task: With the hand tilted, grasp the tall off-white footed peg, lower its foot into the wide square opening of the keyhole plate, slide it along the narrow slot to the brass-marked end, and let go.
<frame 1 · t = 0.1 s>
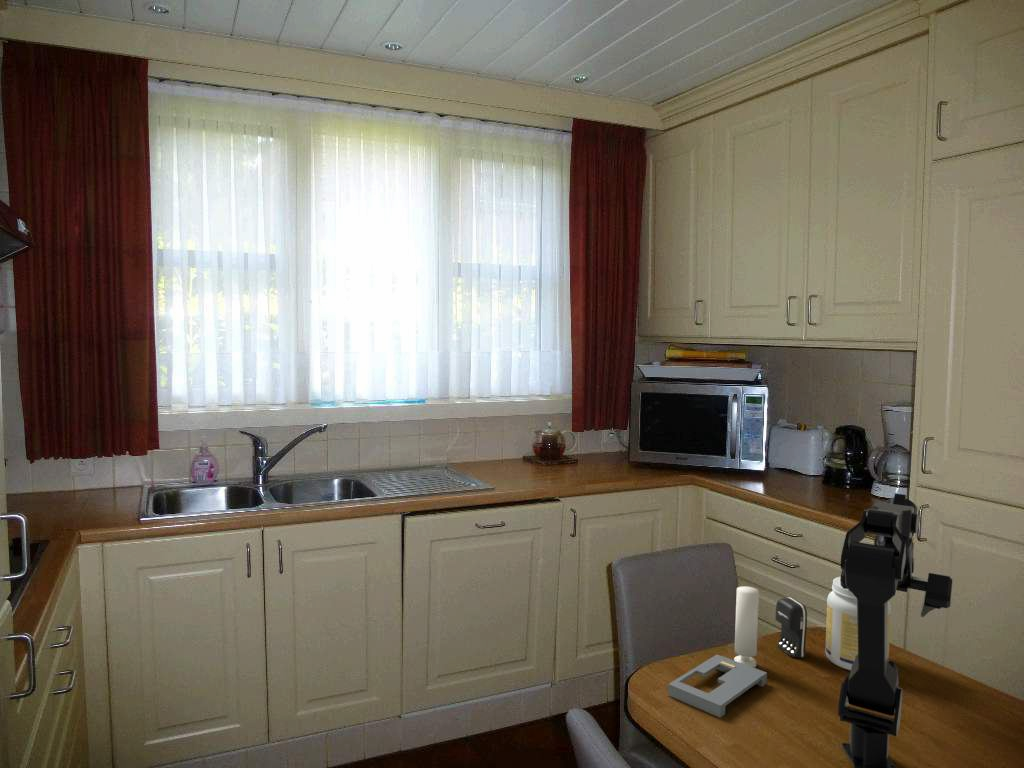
hand: (895, 609, 146), 15 cm above the table, tool tilted 35°, fingers open, 9 cm apart
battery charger: (788, 652, 160), on the table
footed peg: (745, 664, 154), on the table
supplement tub: (855, 662, 156), on the table
keyhole plate: (718, 689, 144), on the table
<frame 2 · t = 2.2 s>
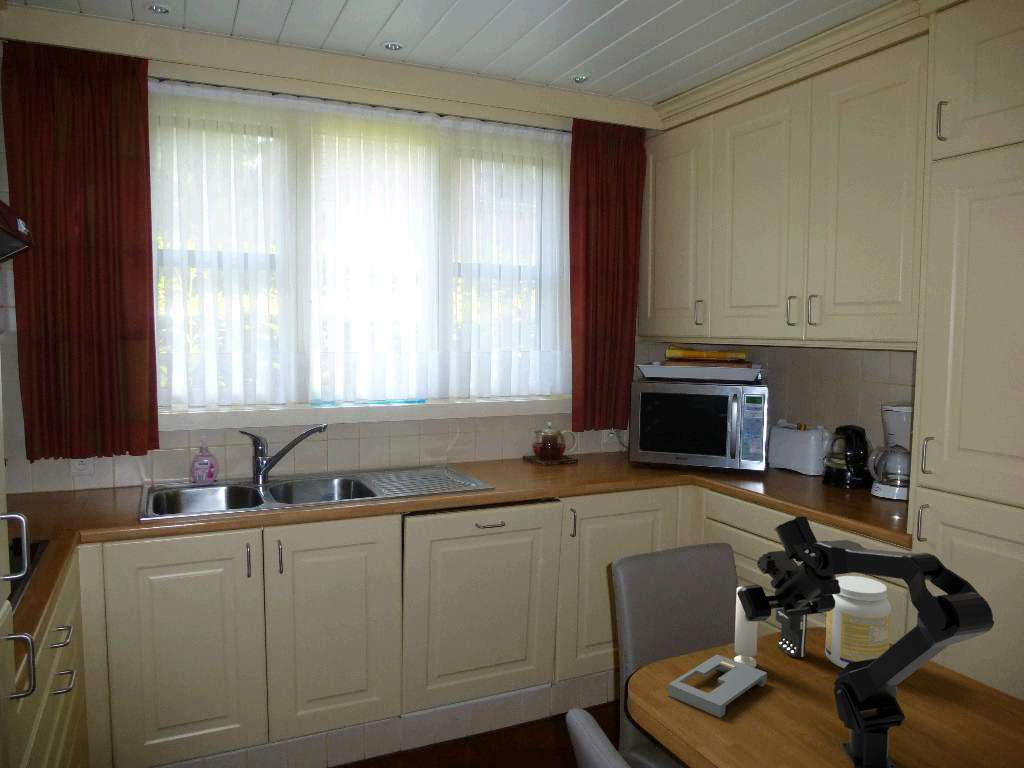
hand: (766, 616, 147), 13 cm above the table, tool tilted 45°, fingers open, 9 cm apart
nothing on the table moved.
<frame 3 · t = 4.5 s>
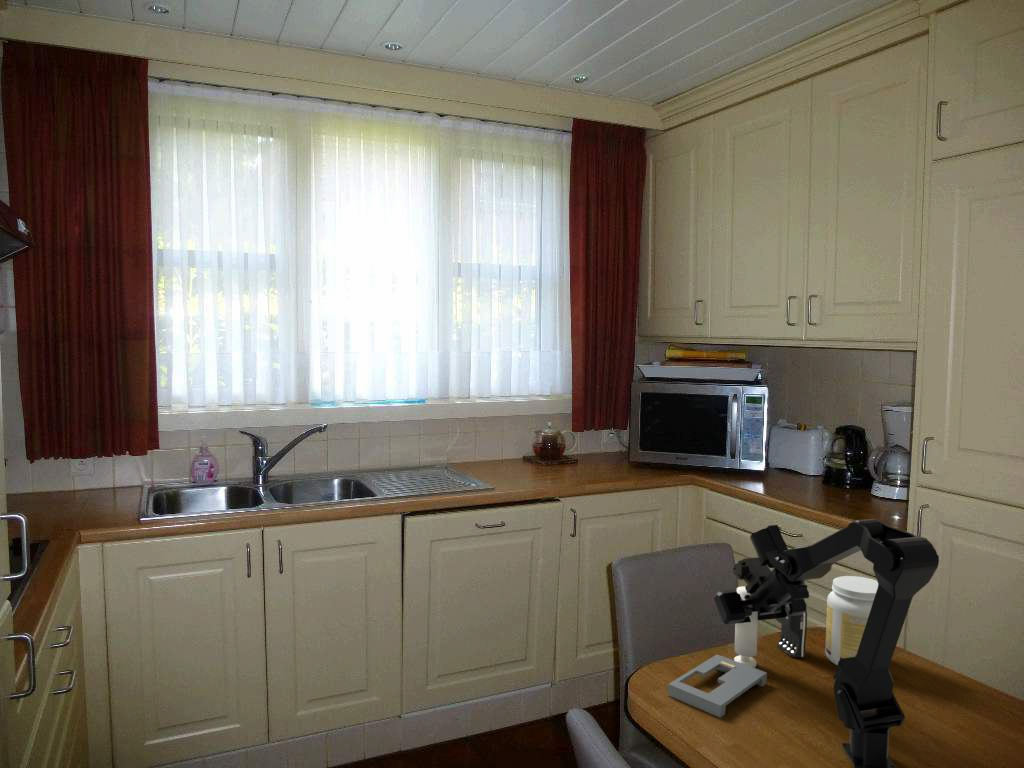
hand: (742, 619, 155), 9 cm above the table, tool tilted 45°, fingers closed on footed peg, 4 cm apart
footed peg: (745, 664, 154), on the table, touching gripper
everything else where it was.
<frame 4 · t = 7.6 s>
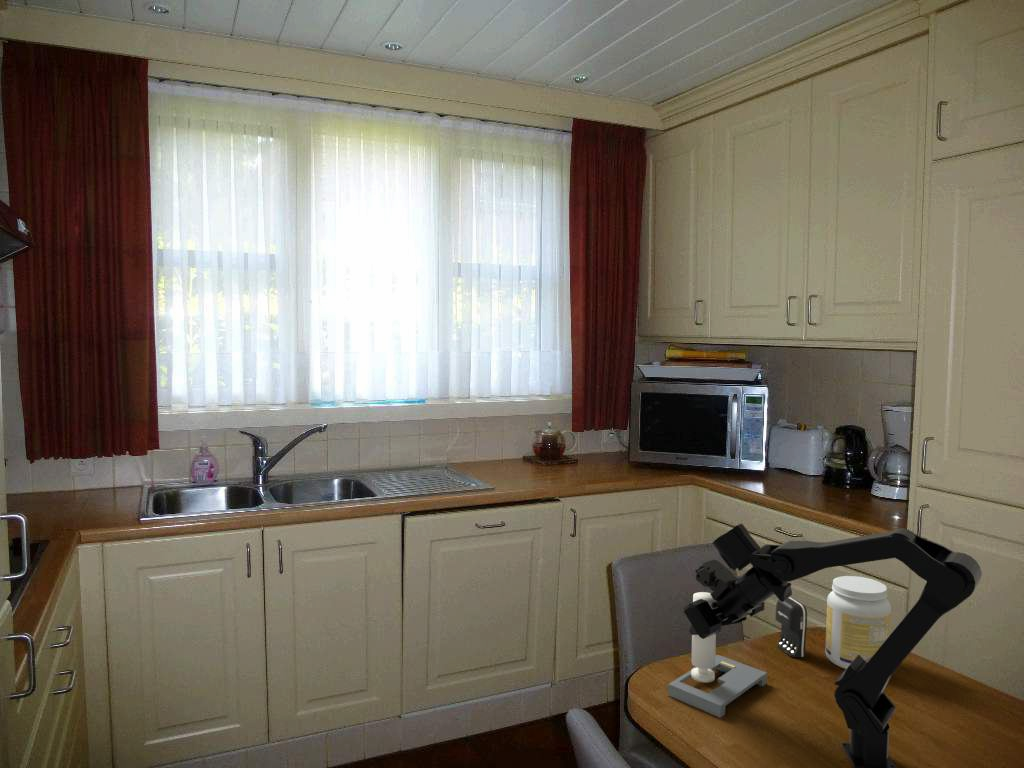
hand: (698, 629, 142), 12 cm above the table, tool tilted 45°, fingers closed on footed peg, 4 cm apart
footed peg: (702, 676, 142), point 3 cm above the table, touching gripper
everything else where it was.
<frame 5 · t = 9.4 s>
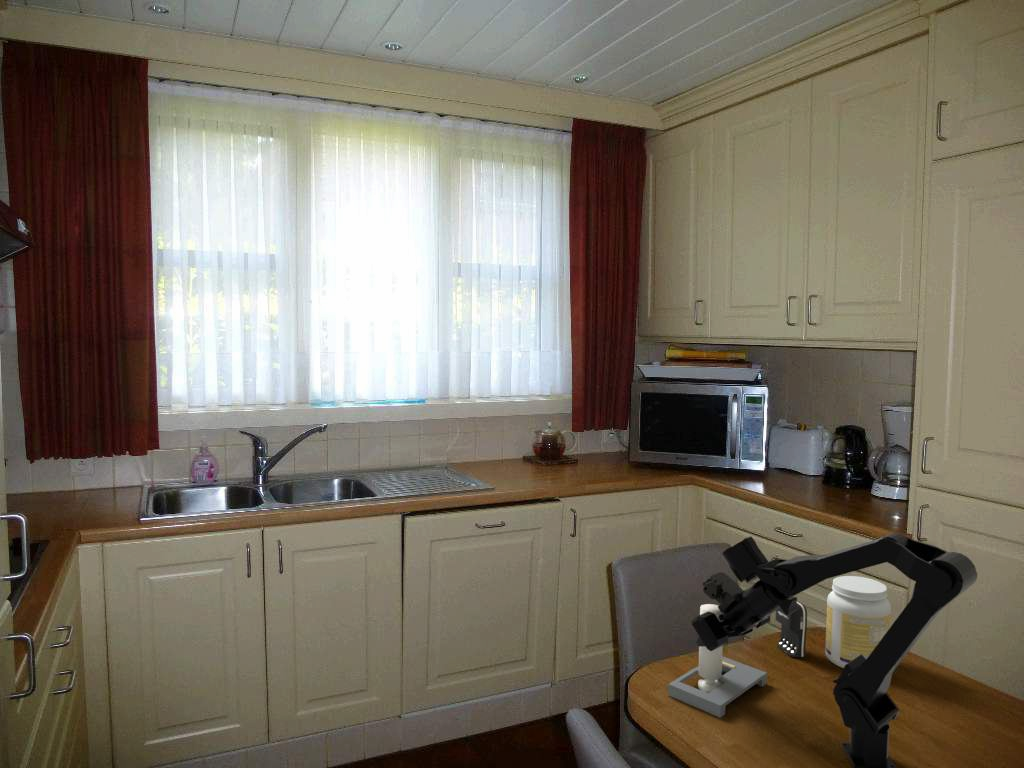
hand: (705, 640, 145), 9 cm above the table, tool tilted 45°, fingers closed on footed peg, 4 cm apart
footed peg: (709, 687, 144), on the table, touching gripper
everything else where it was.
when the fingers open (9 cm above the table, at t = 11.0 s): footed peg stays where it is, on the table.
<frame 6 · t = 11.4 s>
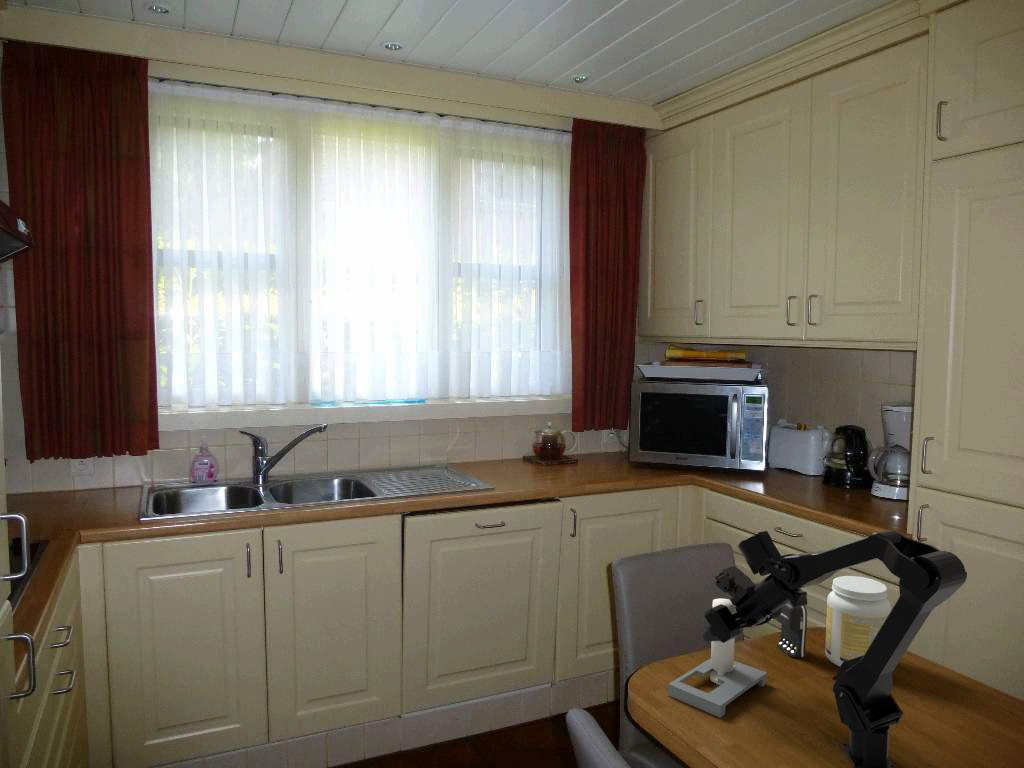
hand: (717, 633, 148), 9 cm above the table, tool tilted 45°, fingers open, 8 cm apart
footed peg: (721, 680, 148), on the table
everything else where it was.
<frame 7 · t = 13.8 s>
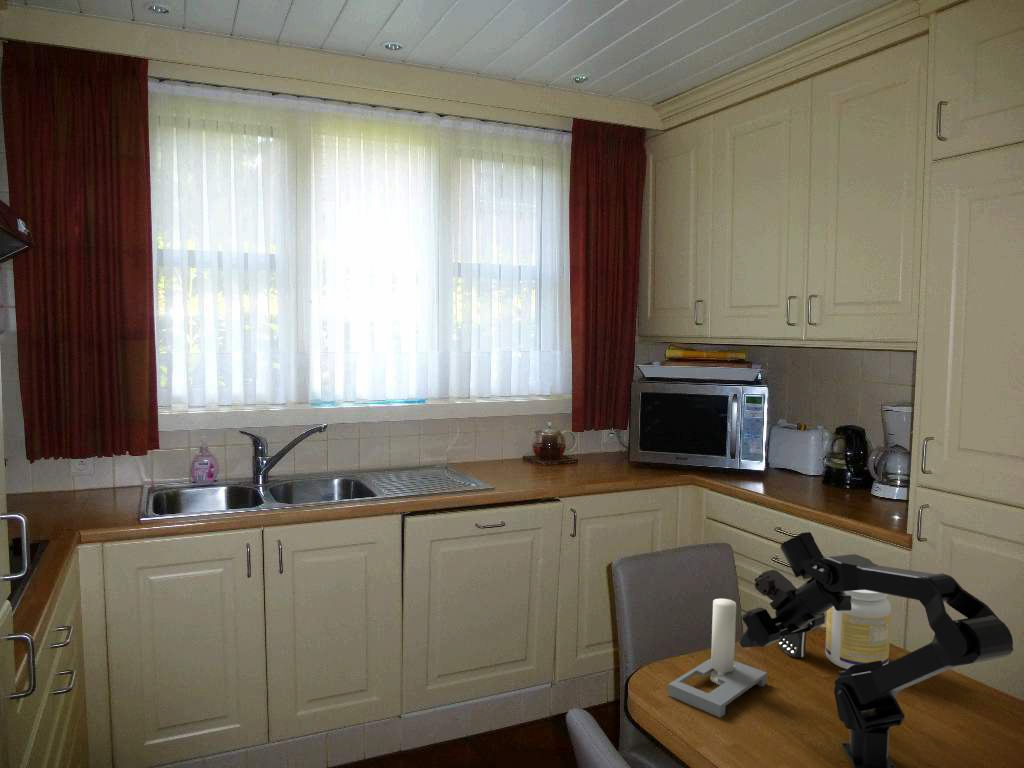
hand: (756, 639, 142), 11 cm above the table, tool tilted 45°, fingers open, 9 cm apart
nothing on the table moved.
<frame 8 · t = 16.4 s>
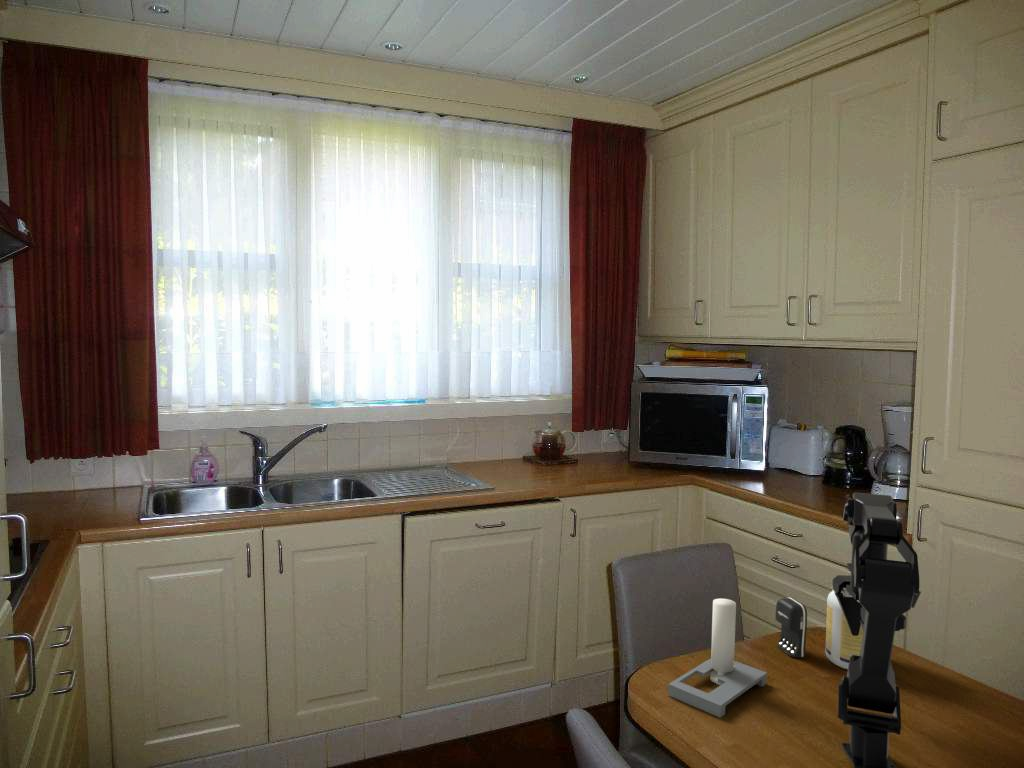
hand: (864, 646, 134), 13 cm above the table, tool pointing down, fingers open, 9 cm apart
nothing on the table moved.
at the end: footed peg 0.1 cm from the target spot, on the table; footed peg tilted 0°; the gripper is holding nothing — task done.
